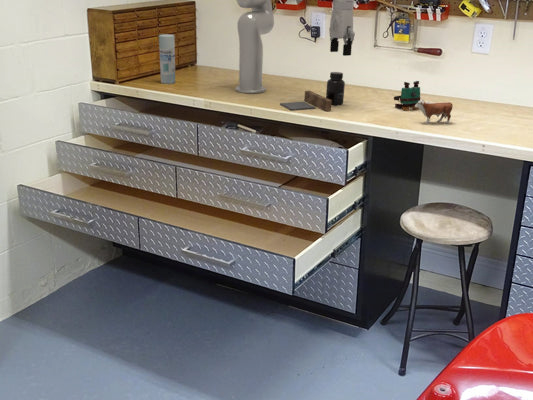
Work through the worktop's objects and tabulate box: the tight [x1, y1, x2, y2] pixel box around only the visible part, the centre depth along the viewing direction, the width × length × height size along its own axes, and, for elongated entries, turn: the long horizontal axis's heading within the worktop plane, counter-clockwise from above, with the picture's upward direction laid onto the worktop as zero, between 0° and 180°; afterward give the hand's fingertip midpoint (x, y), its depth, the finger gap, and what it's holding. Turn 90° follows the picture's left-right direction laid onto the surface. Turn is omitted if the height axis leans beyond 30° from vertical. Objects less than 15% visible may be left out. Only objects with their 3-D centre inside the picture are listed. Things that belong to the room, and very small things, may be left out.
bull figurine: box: [415, 98, 453, 125], centre depth 221 cm, size 4×13×8 cm, turn 95°
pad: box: [279, 101, 316, 111], centre depth 239 cm, size 10×10×1 cm
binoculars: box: [393, 80, 421, 111], centre depth 241 cm, size 9×11×10 cm
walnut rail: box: [303, 90, 333, 112], centre depth 241 cm, size 18×2×4 cm, turn 24°
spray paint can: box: [158, 33, 176, 85], centre depth 272 cm, size 6×6×20 cm
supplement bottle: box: [325, 71, 346, 107], centre depth 243 cm, size 7×7×12 cm
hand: (340, 53), depth 239 cm, fingers open, 9 cm apart
